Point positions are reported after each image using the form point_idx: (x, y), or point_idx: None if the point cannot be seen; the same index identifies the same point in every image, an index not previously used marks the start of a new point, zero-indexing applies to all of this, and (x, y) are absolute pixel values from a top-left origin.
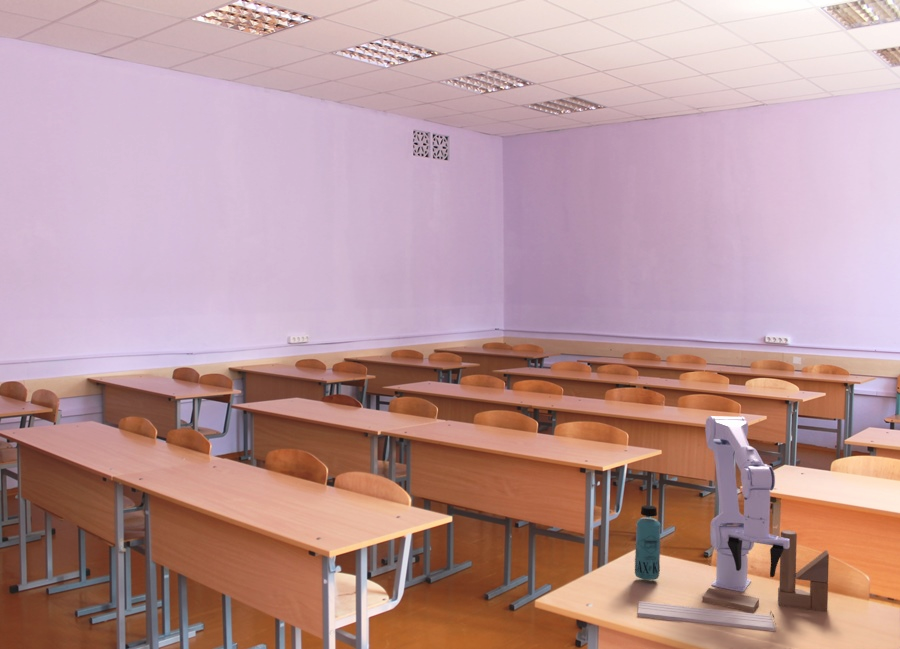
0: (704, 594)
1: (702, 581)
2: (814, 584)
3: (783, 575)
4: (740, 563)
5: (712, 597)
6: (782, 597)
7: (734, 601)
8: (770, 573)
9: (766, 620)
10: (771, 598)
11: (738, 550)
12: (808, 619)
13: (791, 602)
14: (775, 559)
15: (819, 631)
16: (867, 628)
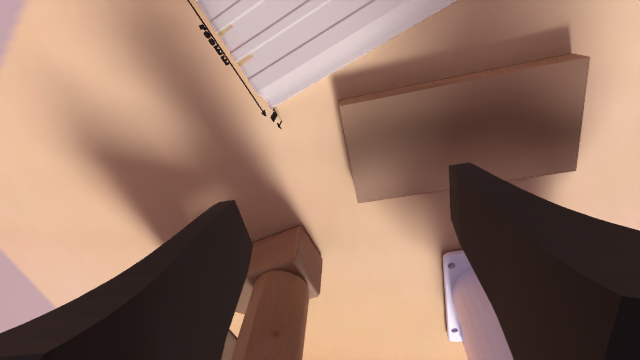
0: (583, 87)
1: None
2: None
3: (274, 323)
4: (464, 229)
5: (537, 80)
6: (287, 248)
7: (430, 108)
8: (221, 210)
9: (244, 23)
10: (348, 265)
11: (538, 281)
12: (180, 185)
13: (263, 247)
14: (105, 291)
15: (93, 110)
16: (48, 235)
